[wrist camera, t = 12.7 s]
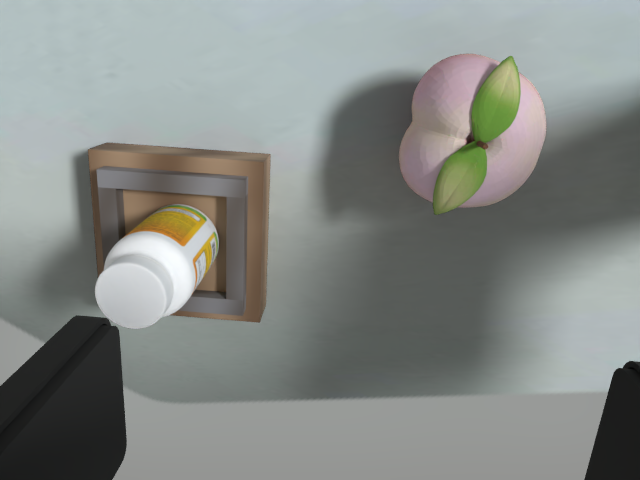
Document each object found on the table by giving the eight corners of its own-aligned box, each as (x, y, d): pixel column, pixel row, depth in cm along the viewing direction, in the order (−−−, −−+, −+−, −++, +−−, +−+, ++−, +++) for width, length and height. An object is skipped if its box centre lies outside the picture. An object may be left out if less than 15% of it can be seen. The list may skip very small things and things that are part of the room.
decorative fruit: (494, 201, 40) (537, 247, 30) (383, 176, 40) (392, 215, 30) (537, 67, 37) (601, 73, 27) (418, 41, 36) (440, 37, 27)
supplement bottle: (130, 224, 39) (60, 277, 30) (193, 189, 38) (141, 233, 28) (172, 286, 40) (118, 356, 31) (234, 254, 39) (197, 316, 30)
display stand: (270, 154, 40) (261, 165, 36) (265, 304, 43) (256, 330, 39) (106, 142, 40) (79, 152, 36) (116, 292, 44) (93, 316, 40)
